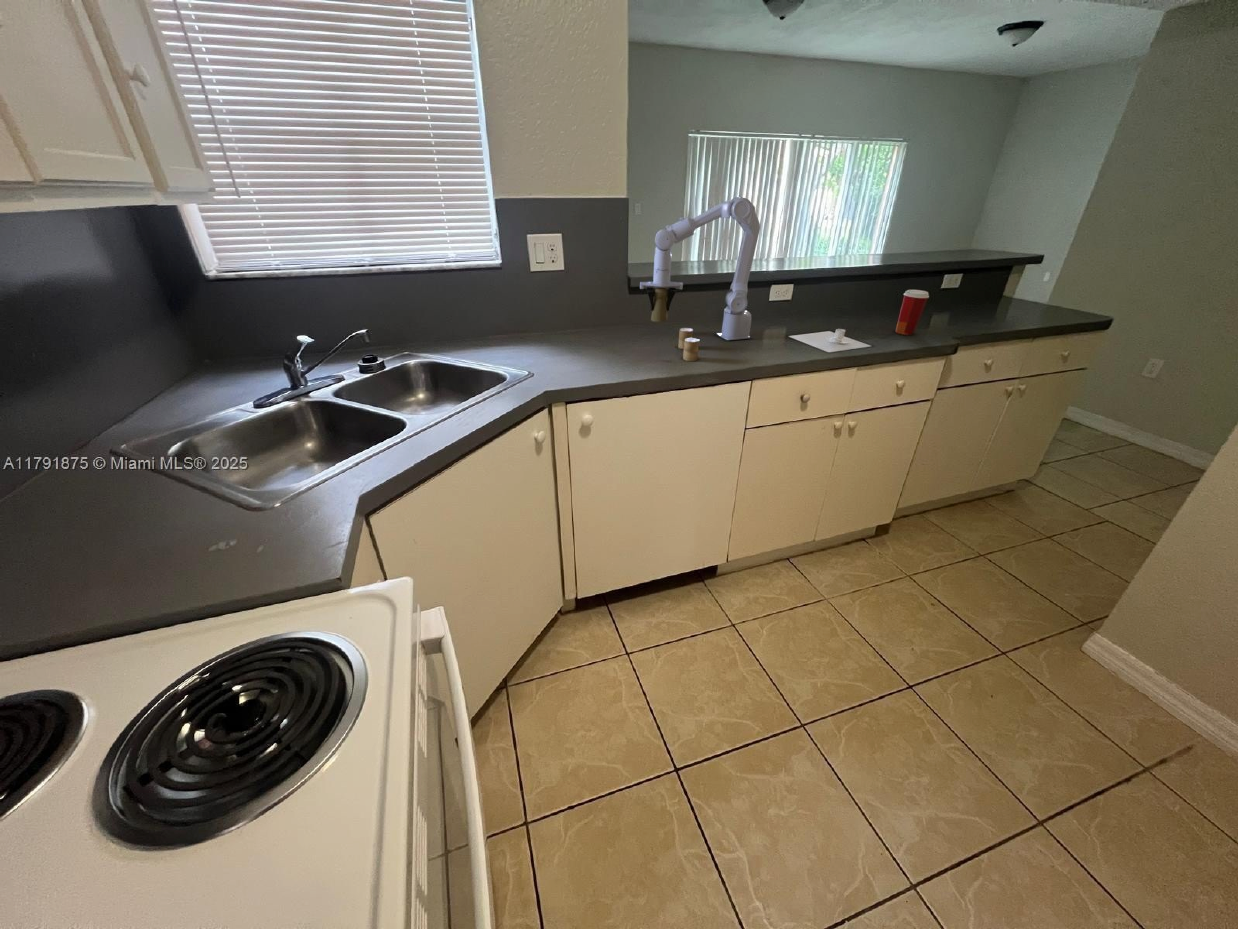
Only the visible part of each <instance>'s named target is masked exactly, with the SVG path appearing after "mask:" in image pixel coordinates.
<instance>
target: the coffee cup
mask: <svg viewBox="0 0 1238 929" xmlns="http://www.w3.org/2000/svg"><path fill="white" fill-rule="evenodd" d="M929 298H930V294H929V292H928V291H926V290H921V289H907V290H905V292H904V293H903V299H902V303H901V307H900V311H899V316H898V320H897V324H896V328H895V333H896V334H899V335H905V336H913V334H914V333H915V331H916V328H917V326H918V323H919V321H920V318H921V316H922V313H923V311H924V308H925V305H926V303H927V300H928V299H929Z"/></svg>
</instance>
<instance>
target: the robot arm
mask: <svg viewBox="0 0 1238 929" xmlns="http://www.w3.org/2000/svg"><path fill="white" fill-rule="evenodd" d="M720 218H723V219H730V218H732V219H733V220H734V221H736V222H737V223H738V225H739V226H740V228H741V229H742V230H743V232H742V238H741V242H740V247H739V252H738V256H737V261H736V265H735V271H734V274H733V280H732V281H731V284H730V288H729V290H728V291H727V293H726V295H725V305H726V307H725V308H724V309H723V310H724V311H723V318H722V325H721V332H716V333H715V334H716V336H718V337H720V338H721V339H724V340H726V341H735V340H746V339H747V340H748V339H750V338H751V336H750V332H751V327H752V326H751V325H752V314H751V312H750V311H748V310H746V309H747V308H748V304H749V303H748V302H749V301H748V298H747V296H748V283H749V280H750V273H751V270H752V265H753V261H754V256H755V253H756V248H757V244H758V239H759V235H760V231H761V224H760V220H759V217H758V214H757V212H756V206H755V205H754V204H753V203H752V202H751V200H750V199H748V198H746V197H742V196H735V197H733V198H732V199H728V200H725V201H723V202H720V203H718V204H717V205H715V206H712V207H711V208H709V209H707V210H705V211H704V212H702V213H701V214H698V215H697V216H695V217H693V218H691V217H689V216H686V217H683V216H682V217H680V218H679V220H678V221H676V222H675V223H673V224H671V225H670V224H668V225H666V226H665V228H666V229H659V230H658V231H657V233H656V234H655V237H654V243H655V248H654V255H653V256H654V259H653V260H654V261H653V278H652V280H653V281H640V282H639V289H640V290H644V289H645V291H646V292H647V295H648V299H649V304H650V310H651V312H652V311H653V308H654V306H653V304H654V298H655V297H654V289H656V288H666V289H667V290H668V296H667V298H666V300H667V312H669V311H670V306H671V304H672V301H673V299H674V297H675V295H676V293H677V290H683V286H684V283H683V282H680V281H678V282H677V281H671V270H672V256H673V255H672V247H673V245H674V244H678V243H681V242H682V241H684V240H686V239H688V238H690V237H692V236H694V235H695V233H696V230H697V229H698V228H701V227H703V226H705V225H708V224H710V223H711V222H714V221H715V220H717V219H720Z"/></svg>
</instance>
